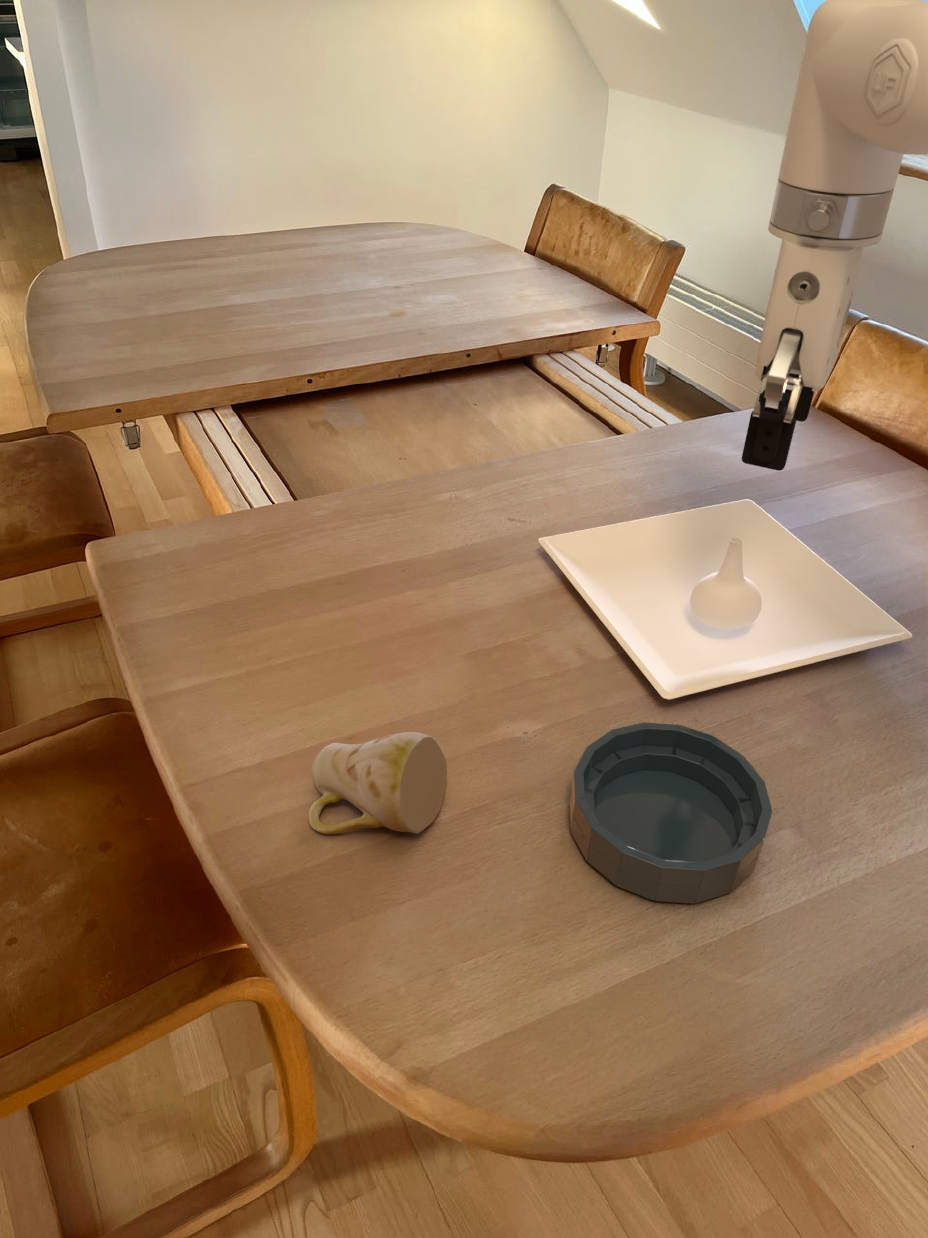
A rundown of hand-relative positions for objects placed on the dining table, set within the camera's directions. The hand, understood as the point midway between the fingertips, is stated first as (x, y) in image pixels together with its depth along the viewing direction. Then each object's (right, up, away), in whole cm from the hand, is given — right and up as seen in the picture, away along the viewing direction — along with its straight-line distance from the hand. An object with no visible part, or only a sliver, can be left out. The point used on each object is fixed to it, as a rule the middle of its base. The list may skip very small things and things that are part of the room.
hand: (775, 440), depth 74 cm
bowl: (-10, -30, -5) cm, 32 cm away
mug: (-32, -28, -4) cm, 43 cm away
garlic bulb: (-1, -14, +12) cm, 19 cm away
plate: (0, -12, +18) cm, 22 cm away
